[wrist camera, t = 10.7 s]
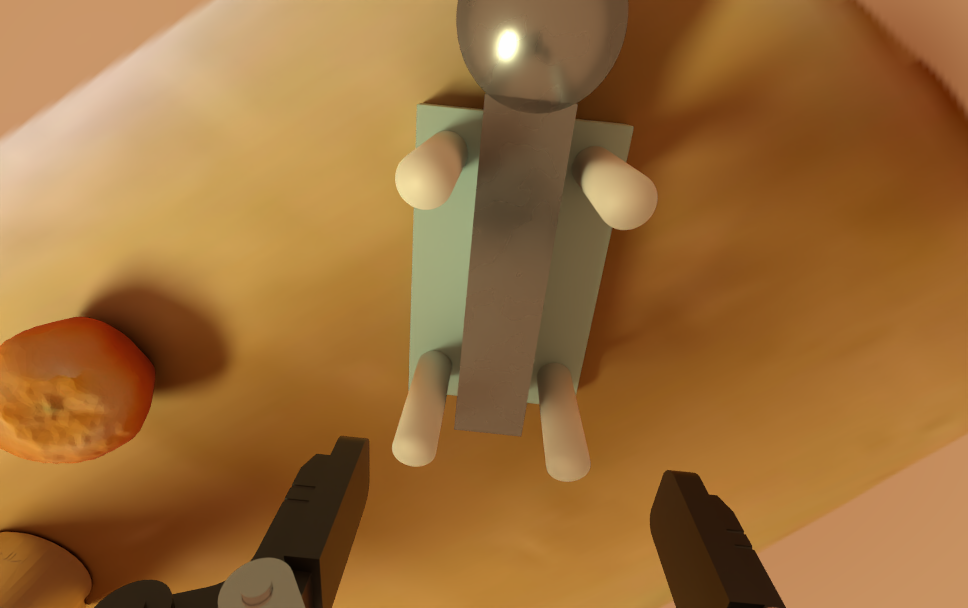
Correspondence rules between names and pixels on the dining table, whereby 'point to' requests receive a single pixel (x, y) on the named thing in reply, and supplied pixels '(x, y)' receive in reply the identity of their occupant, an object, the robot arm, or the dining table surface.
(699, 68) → the dining table surface
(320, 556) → the robot arm
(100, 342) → the fruit
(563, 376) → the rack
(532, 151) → the ball-topped lever
